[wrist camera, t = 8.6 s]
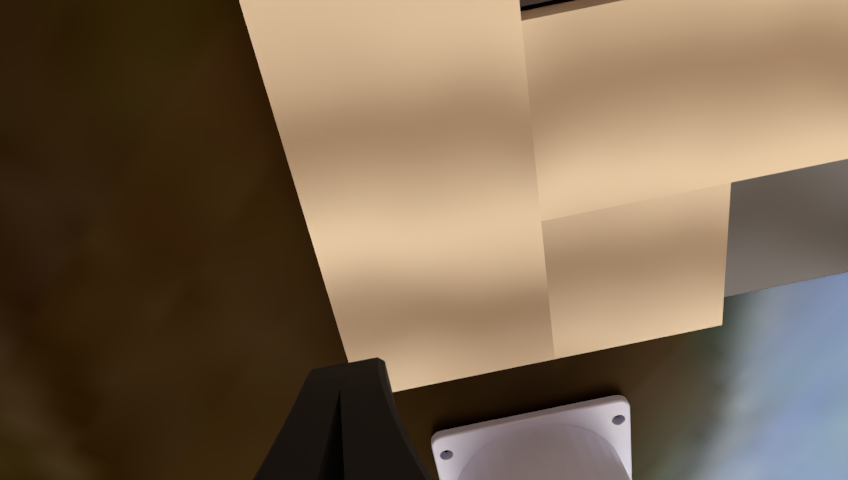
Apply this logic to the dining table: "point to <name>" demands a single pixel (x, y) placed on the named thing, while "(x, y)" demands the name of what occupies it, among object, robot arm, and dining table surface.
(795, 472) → the dining table surface
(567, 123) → the trap track
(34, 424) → the dining table surface
